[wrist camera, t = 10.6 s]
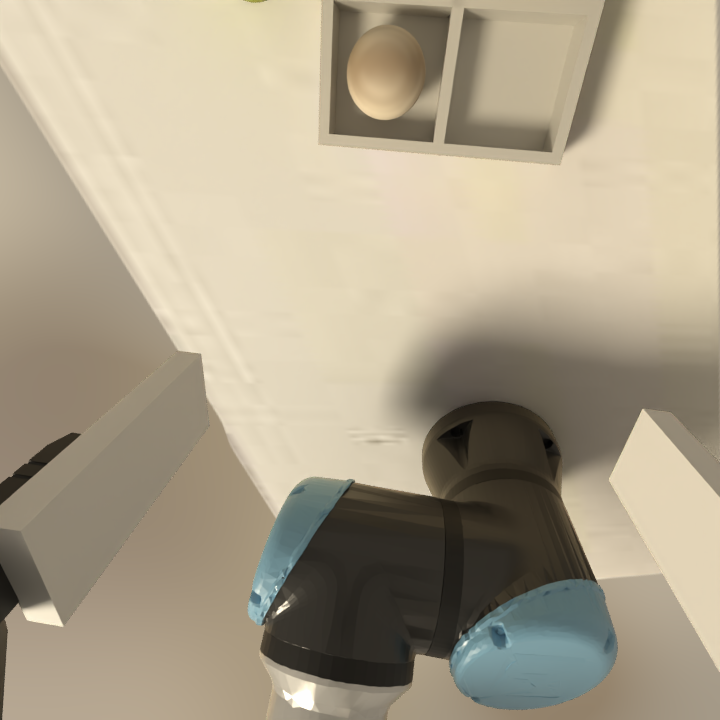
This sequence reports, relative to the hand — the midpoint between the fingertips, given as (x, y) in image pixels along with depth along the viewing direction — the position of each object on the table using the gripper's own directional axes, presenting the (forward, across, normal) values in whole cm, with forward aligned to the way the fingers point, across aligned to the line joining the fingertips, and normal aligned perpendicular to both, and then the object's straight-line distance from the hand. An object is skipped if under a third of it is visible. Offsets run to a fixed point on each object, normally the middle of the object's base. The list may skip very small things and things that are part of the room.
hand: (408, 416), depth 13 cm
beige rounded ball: (+28, +3, -12) cm, 30 cm away
